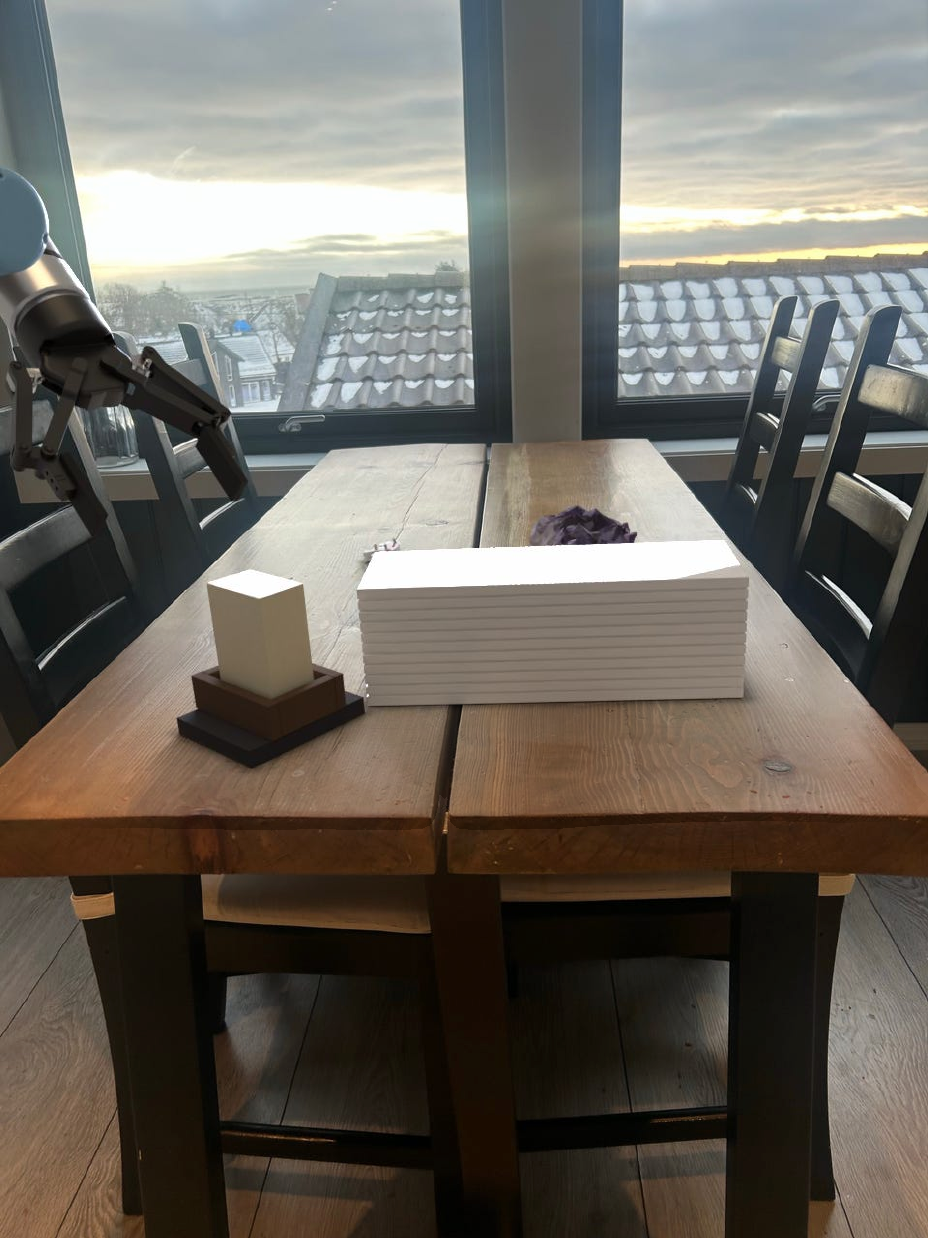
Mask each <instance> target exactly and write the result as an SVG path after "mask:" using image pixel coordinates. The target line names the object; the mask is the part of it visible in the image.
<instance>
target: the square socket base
mask: <svg viewBox="0 0 928 1238" xmlns="http://www.w3.org/2000/svg"><path fill="white" fill-rule="evenodd" d="M312 666H313V675H314V681H312V682H309V683H307V684H305V685H303V686H300V687H298V688H296V689H293V690H291V691H289V692H287V693H284V694H282V695H280V696H277V697H275V698H273V699H271V700H270V699H268V698H265V697H263V696H260V695H258V694H255V693H253V692H250V691H248V690H245V689H242V688H240V687H237V686H235V685H232V684H230V683H227V682H225V681H222V680H221V678H220V671H219V665H216V666H213V667H210V668H208V669H205V670H203V671H199V672H197V673H195V674H192V675H191V677H190V678H191V682H192V690H193V696H194V702H195V707H196V709H194V710H192V711H189V712H187V713H184V714H182V715H180V716H177V717H176V724H177V730H178V734H179V735H180V736H184V737H185V738H188V739H190V740H192V741H194V742H196V743H197V744H200V745H202V746H204V747H206V748H209V749H210V750H212V751H215V752H216V753H219V754H221V755H223V756H225V757H227V758H229V759H232V760H234V761H236V762H238V763H240V764H242V765H243V766H246V767H248V768H250V769H253V768H255V767H257V766H259V765H262V764H264V763H265V762H267V761H269V760H271V759H274V758H276V757H278V756H279V755H282V754H284V753H286V752H288V751H290V750H292V749H294V748H296V747H298V746H300V745H302V744H304V743H306V742H308V741H310V740H312V739H314V738H316V737H319V736H321V735H323V734H326V733H327V732H329V731H331V730H333V729H335V728H338V727H339V726H341V725H343V724H345V723H348V722H349V721H352V720H353V719H355V718H358V717H359V716H361V715H363V714H365V713H366V707H365V698H364V696H361V695H358V694H356V693H353V692H350V691H347V690H346V688H345V687H346V686H345V676H344V673H342V672H340V671H337V670H333V669H331V668H327V667H324V666H323V665H319V664H315V663H313V662H312Z"/></svg>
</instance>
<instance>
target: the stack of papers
mask: <svg viewBox="0 0 928 1238" xmlns="http://www.w3.org/2000/svg"><path fill="white" fill-rule="evenodd" d="M749 588H750V577H749V575H748V573H747V572H746V570H745V569H744V567H743V565H742V564H741V562H740V561H739V560H738V558H737V556H736V555H735V553H734V552H733V551H732V549H731V547H730V546H729V544H728V543H727V542H726V540H723V539H722V540H721V539H720V540H693V541H691V540H689V541H665V542H662V541H661V542H634V543H632V544H603V545H576V546H575V545H573V546H546V547H531V546H525V547H524V546H520V547H519V546H518V547H517V546H516V547H495V548H493V547H490V548H489V547H488V548H486V547H485V548H461V549H459V548H458V549H457V548H456V549H432V550H431V549H430V550H429V549H428V550H422V551H420V550H412V551H411V550H404V551H398V552H375V553H374V555H373V557H372V559H371V561H369V563H368V566H367V568H366V570H365V571H364V574H363V576H362V578H361V580H360V582H359V584H358V585H357V588H356V598H357V600H358V601H357V606H358V607H357V609H358V611H359V612H358V619H359V630H360V640H361V643H362V644H361V651H362V654H363V655H362V660H363V664H364V665H363V671H364V683H365V692H366V693H365V694H366V703H367V707H389V706H431V705H432V706H433V705H437V706H438V705H475V704H476V705H477V704H479V705H480V704H520V703H523V704H525V703H527V704H528V703H564V702H565V703H566V702H568V703H570V702H611V701H648V700H649V701H651V700H652V701H653V700H654V701H655V700H693V699H694V700H696V699H698V700H701V699H737V698H739V699H740V698H741V699H742V698H744V689H745V688H744V687H745V670H746V667H745V664H746V652H747V651H746V649H747V645H746V643H747V629H748V623H747V621H748V609H749V601H748V600H749Z"/></svg>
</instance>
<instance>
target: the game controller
mask: <svg viewBox="0 0 928 1238" xmlns="http://www.w3.org/2000/svg"><path fill="white" fill-rule="evenodd" d="M373 547H374V548H370V549H367V550H364V551H362V556H363V558H364V561H365V562H370V561H371V559H372V557H373V555H374V553H375V552H398V551H402V547H401V544H400V541H399V540H397V539H396V538H395V537H393V538H392V540H391V541H385V542H381V543H379V544H378V545H377V543H376V544H374V545H373ZM410 551H413V549H411V550H410ZM419 551H423V550H421V549H419Z"/></svg>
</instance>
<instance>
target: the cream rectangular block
mask: <svg viewBox="0 0 928 1238" xmlns="http://www.w3.org/2000/svg"><path fill="white" fill-rule="evenodd" d="M205 584H206V590H207V591H206V592H207V597H208V602H209V603H208V605H209V610H210V617H211V622H212V623H211V625H212V630H213V636H214V644H215V651H216V657H217V663H218V665H219V671H220V678H221V680H222V681H225V682H227V683H230V684H232V685H235V686H237V687H240V688H242V689H245V690H248V691H250V692H253V693H255V694H258V695H260V696H263V697H265V698H268V699H270V700H271V699H273V698H275V697H277V696H280V695H282V694H284V693H287V692H289V691H291V690H293V689H296V688H298V687H300V686H303V685H305V684H307V683H309V682H312V681H314V675H313V666H312V663H313V658H312V650H311V648H312V647H311V640H310V633H309V622H308V614H307V605H306V598H305V589H304V583H302V582H300V581H299V582H298V581H295V580H291V579H287V578H283V577H280V576H276V575H272V574H268V573H265V572H261V571H258V570H254V569H246V570H243V571H241V572H237V573H234V574H230V575H228V576H224V577H222V578H219V579H214V580H211V581H209V582H206V583H205ZM218 665H217V666H218Z"/></svg>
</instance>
